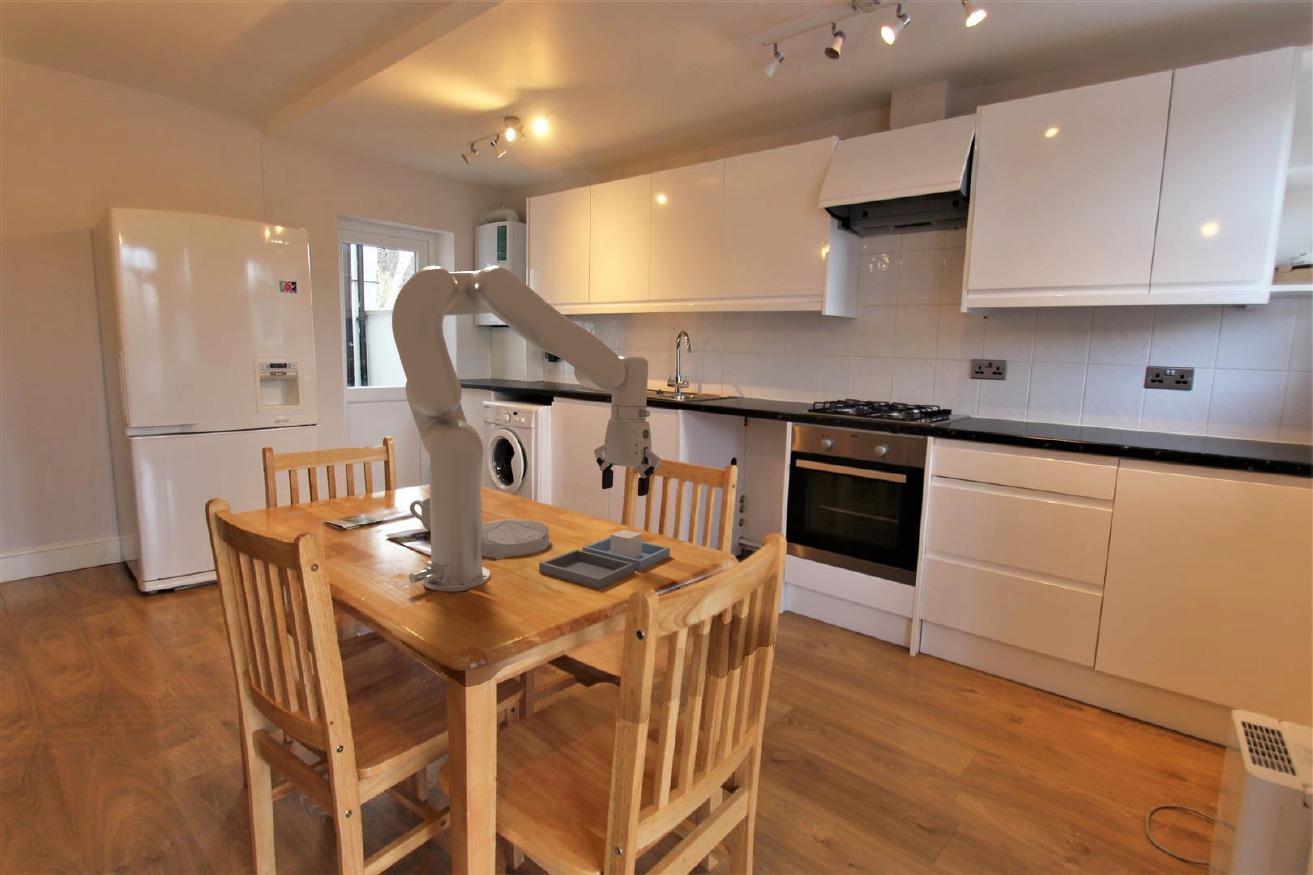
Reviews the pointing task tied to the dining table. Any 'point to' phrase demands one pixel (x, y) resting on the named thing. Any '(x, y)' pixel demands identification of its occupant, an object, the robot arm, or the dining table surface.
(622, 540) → the stone block
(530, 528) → the food container
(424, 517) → the teacup
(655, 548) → the slate-blue bin
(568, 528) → the dining table surface
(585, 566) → the charcoal bin
